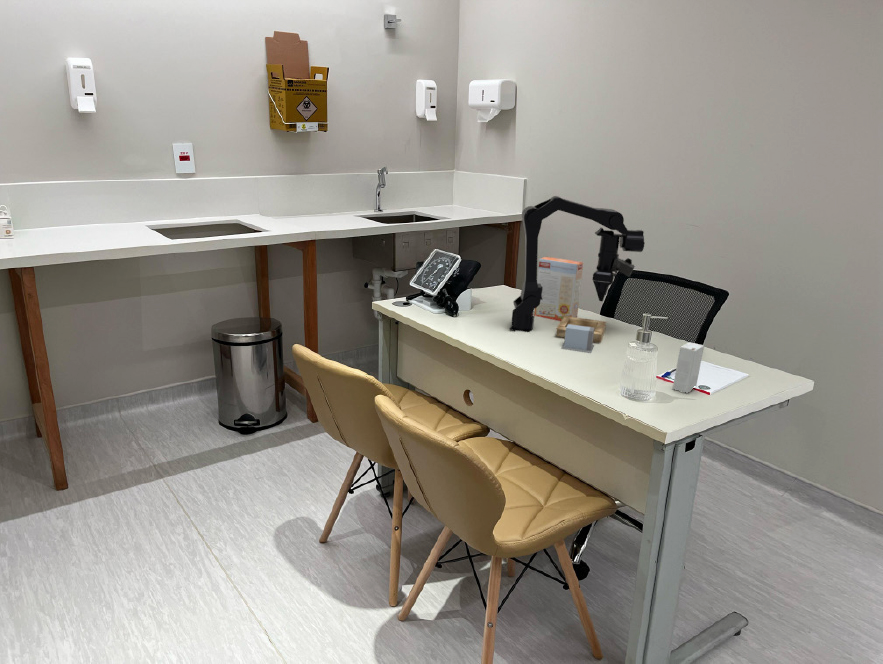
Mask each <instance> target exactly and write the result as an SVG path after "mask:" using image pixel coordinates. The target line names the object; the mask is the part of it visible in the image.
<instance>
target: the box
mask: <svg viewBox="0 0 883 664" xmlns="http://www.w3.org/2000/svg"><path fill="white" fill-rule="evenodd" d="M594 329H595V328H593V327H585V326H578V325H571V324H568V325H567V327H566V332H565V337H564V342H563V344H564V347H569V348H576V349H582V350H589V351H591V348H592V345H594V344H593V343H594V342H593V337H594Z"/></svg>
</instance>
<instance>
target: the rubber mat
mask: <svg viewBox="0 0 883 664" xmlns="http://www.w3.org/2000/svg"><path fill="white" fill-rule="evenodd" d="M594 348H595V344H593V345H592V348H591V351H589V350H582V349H576V348H569V347H564V343H563V344H562V346H561V348H560V350H565V351H567V350H568V351H572V352H573V351H574V352H580V353H584V354H585V353H586V354H592V352H593V350H594Z"/></svg>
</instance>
